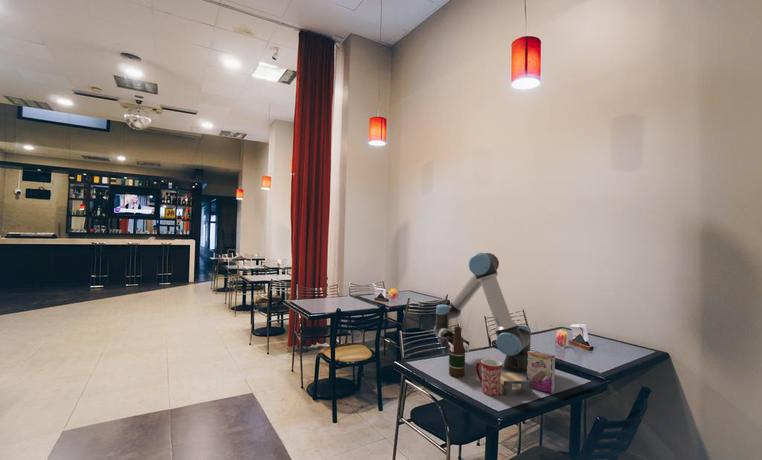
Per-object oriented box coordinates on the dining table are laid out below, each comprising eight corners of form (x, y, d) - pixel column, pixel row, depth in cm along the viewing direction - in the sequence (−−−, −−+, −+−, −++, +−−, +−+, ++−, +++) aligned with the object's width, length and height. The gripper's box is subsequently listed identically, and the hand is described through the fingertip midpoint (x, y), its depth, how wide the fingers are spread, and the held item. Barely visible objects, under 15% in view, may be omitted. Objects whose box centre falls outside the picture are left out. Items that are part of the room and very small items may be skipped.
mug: (505, 394, 156) (506, 363, 156) (492, 398, 150) (493, 366, 151) (482, 384, 166) (483, 355, 167) (469, 388, 161) (470, 358, 161)
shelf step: (514, 381, 171) (515, 368, 172) (532, 395, 156) (532, 381, 156) (489, 381, 170) (489, 368, 170) (504, 395, 154) (504, 381, 154)
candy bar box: (526, 387, 165) (526, 351, 165) (529, 384, 168) (530, 349, 169) (551, 394, 157) (552, 357, 158) (554, 391, 161) (555, 354, 162)
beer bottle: (464, 378, 172) (466, 329, 173) (448, 376, 174) (449, 328, 175) (464, 373, 180) (465, 325, 181) (448, 371, 182) (450, 324, 183)
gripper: (464, 343, 196) (480, 356, 174) (429, 343, 194) (440, 356, 171) (464, 329, 197) (480, 341, 174) (429, 329, 195) (440, 341, 172)
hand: (460, 348), depth 173 cm, fingers closed on beer bottle, 7 cm apart
